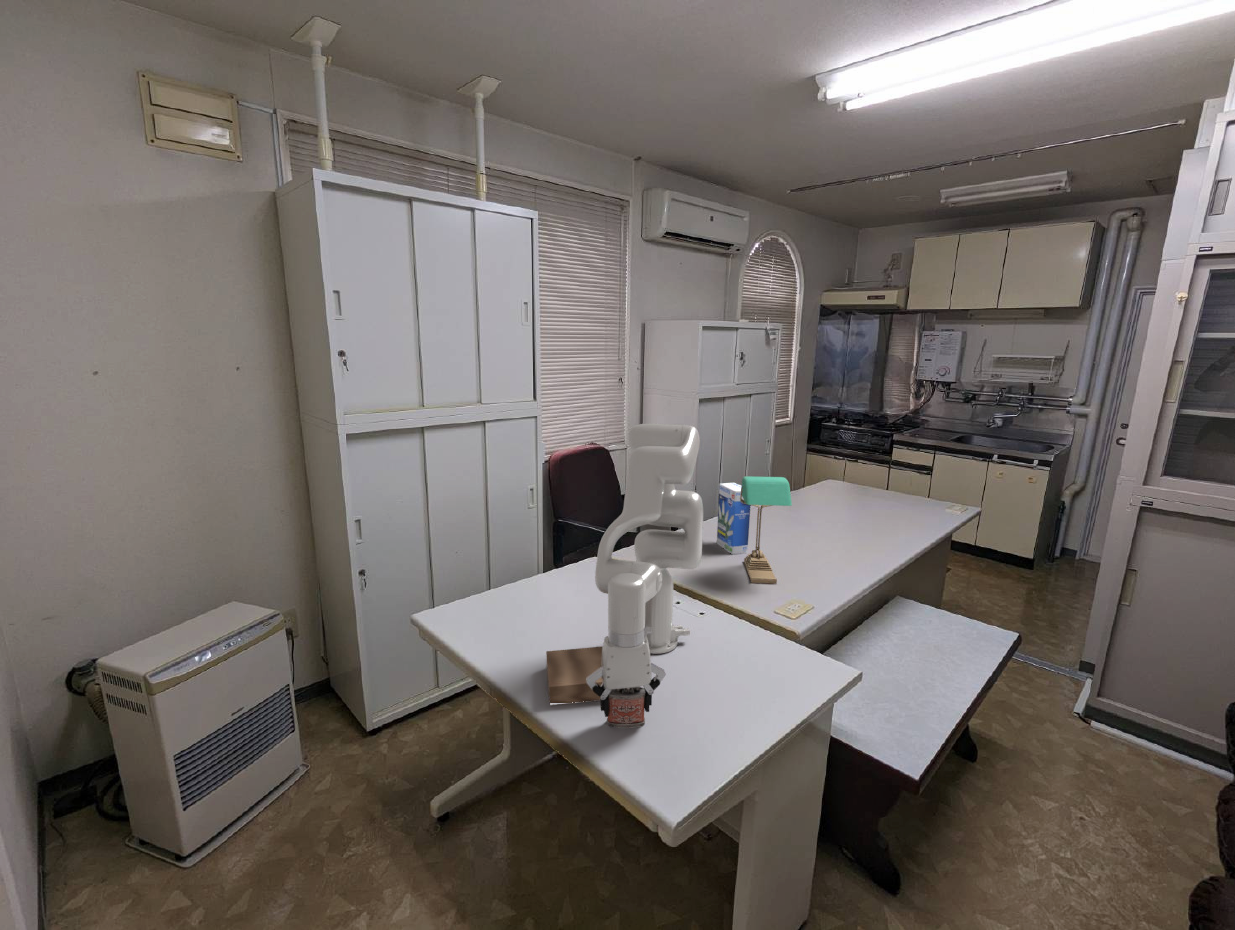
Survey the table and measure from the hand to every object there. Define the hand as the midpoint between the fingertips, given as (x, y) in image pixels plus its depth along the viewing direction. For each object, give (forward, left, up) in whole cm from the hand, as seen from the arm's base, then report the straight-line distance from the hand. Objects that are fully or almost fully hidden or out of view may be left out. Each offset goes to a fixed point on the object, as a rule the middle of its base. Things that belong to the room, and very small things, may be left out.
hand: (626, 709), depth 114 cm
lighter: (0, 0, -3) cm, 3 cm away
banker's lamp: (-63, -71, -3) cm, 95 cm away
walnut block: (+8, -16, -3) cm, 18 cm away
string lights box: (-63, -97, -3) cm, 116 cm away
